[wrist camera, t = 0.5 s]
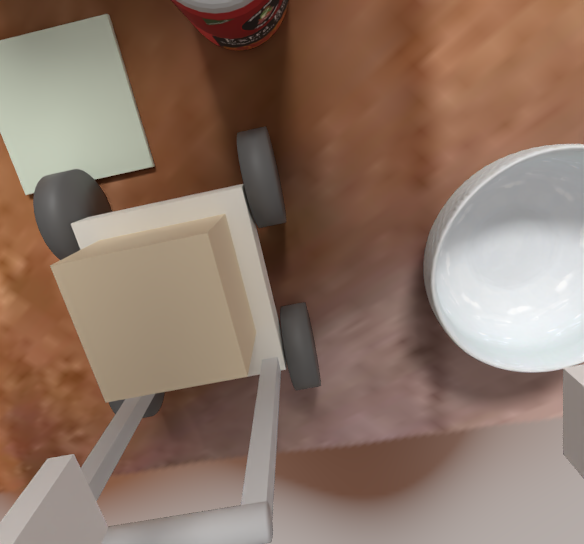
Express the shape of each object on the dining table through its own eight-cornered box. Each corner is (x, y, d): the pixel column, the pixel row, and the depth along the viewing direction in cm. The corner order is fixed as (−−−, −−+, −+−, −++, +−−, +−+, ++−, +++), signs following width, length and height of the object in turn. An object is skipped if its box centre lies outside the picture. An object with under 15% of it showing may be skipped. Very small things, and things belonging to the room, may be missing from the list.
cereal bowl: (549, 96, 32) (616, 85, 25) (639, 259, 36) (718, 287, 29) (368, 229, 35) (386, 251, 29) (469, 365, 39) (505, 412, 33)
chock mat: (-30, 49, 31) (-34, 48, 31) (109, 15, 30) (107, 13, 30) (28, 194, 34) (25, 194, 34) (155, 166, 34) (153, 166, 33)
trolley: (73, 171, 34) (-257, 219, 14) (268, 127, 33) (226, 109, 12) (151, 389, 40) (5, 644, 20) (318, 358, 39) (343, 596, 19)
